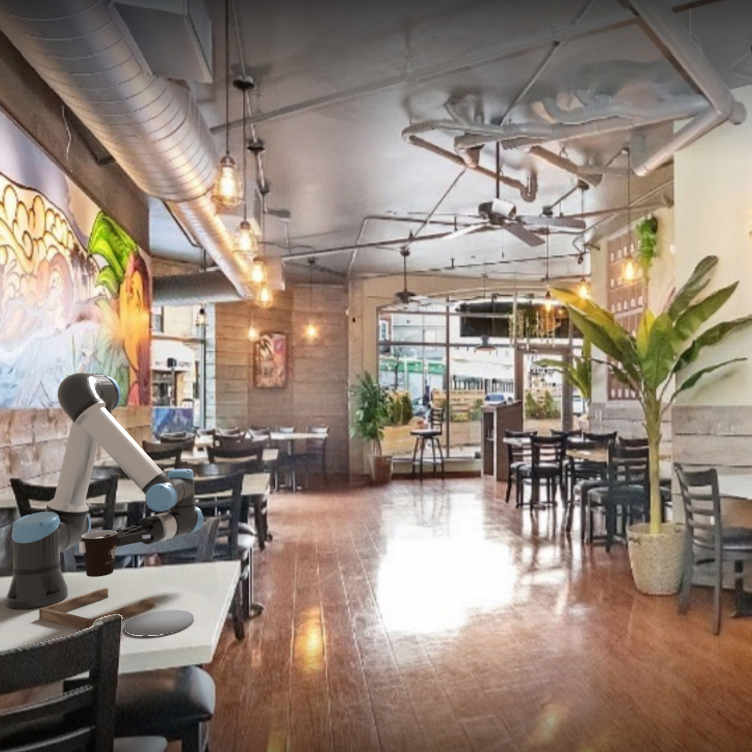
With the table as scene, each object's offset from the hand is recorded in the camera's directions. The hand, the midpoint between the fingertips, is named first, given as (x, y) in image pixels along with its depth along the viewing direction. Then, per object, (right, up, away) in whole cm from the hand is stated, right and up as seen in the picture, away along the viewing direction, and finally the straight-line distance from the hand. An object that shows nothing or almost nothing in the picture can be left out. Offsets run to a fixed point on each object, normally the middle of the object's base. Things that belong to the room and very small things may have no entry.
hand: (80, 547), depth 162 cm
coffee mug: (+4, -8, +5) cm, 10 cm away
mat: (+22, -17, -6) cm, 29 cm away
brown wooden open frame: (+3, -18, +5) cm, 19 cm away
